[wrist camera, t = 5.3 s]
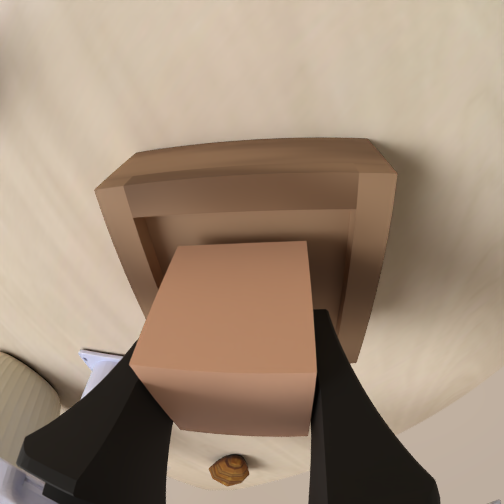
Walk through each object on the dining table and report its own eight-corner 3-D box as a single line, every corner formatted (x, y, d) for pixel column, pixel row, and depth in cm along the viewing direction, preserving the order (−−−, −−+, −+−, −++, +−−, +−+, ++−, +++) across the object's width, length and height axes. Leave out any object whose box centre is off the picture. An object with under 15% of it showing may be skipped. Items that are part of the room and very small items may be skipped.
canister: (2, 326, 25) (-65, 476, 8) (102, 411, 34) (65, 539, 18) (-30, 337, 30) (-79, 438, 14) (44, 403, 40) (11, 497, 23)
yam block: (305, 327, 13) (307, 436, 9) (203, 327, 13) (180, 429, 9) (306, 240, 10) (316, 372, 6) (177, 246, 11) (129, 364, 7)
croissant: (214, 448, 38) (209, 477, 34) (259, 454, 38) (256, 484, 34) (207, 464, 46) (203, 487, 42) (243, 469, 47) (240, 492, 43)
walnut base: (347, 309, 17) (356, 362, 14) (182, 309, 19) (166, 359, 16) (367, 138, 11) (397, 173, 8) (136, 152, 13) (94, 189, 10)
